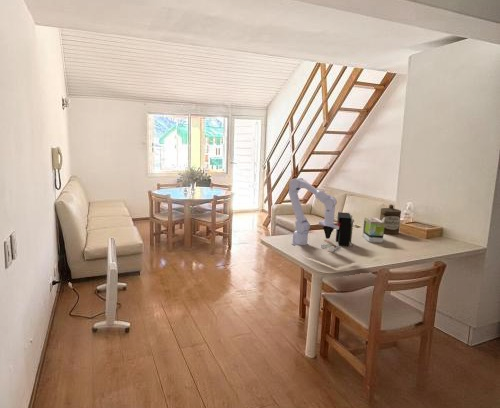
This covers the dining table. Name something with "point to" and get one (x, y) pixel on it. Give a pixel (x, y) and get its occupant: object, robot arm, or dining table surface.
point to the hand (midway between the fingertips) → (327, 238)
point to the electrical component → (344, 229)
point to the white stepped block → (331, 248)
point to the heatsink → (331, 245)
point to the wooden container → (391, 220)
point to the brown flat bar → (330, 243)
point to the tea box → (373, 229)
